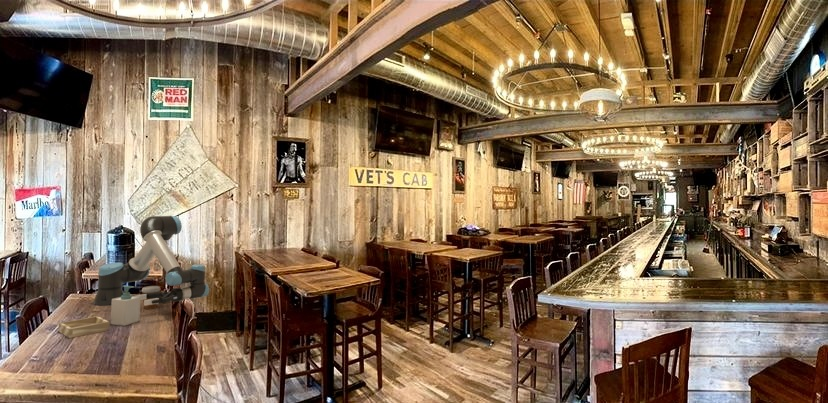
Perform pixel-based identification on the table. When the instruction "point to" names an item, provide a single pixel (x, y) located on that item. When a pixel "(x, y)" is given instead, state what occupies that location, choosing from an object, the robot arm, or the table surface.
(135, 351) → the table surface
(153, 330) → the table surface
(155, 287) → the disposable coffee cup
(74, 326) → the caddy
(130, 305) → the soap bottle
